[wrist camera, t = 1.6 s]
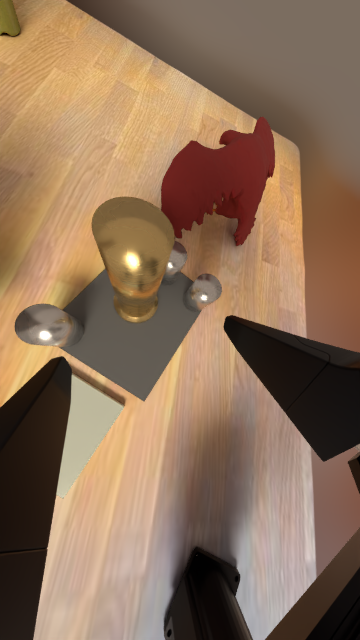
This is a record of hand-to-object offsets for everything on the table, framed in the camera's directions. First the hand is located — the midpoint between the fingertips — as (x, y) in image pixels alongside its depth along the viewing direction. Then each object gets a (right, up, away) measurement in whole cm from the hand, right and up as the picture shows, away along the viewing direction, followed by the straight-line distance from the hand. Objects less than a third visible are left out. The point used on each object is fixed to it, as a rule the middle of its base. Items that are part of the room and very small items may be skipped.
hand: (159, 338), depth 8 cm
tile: (-11, -10, +7) cm, 17 cm away
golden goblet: (-5, +3, +12) cm, 13 cm away
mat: (-4, +2, +12) cm, 13 cm away
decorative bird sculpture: (+9, +20, +20) cm, 30 cm away
